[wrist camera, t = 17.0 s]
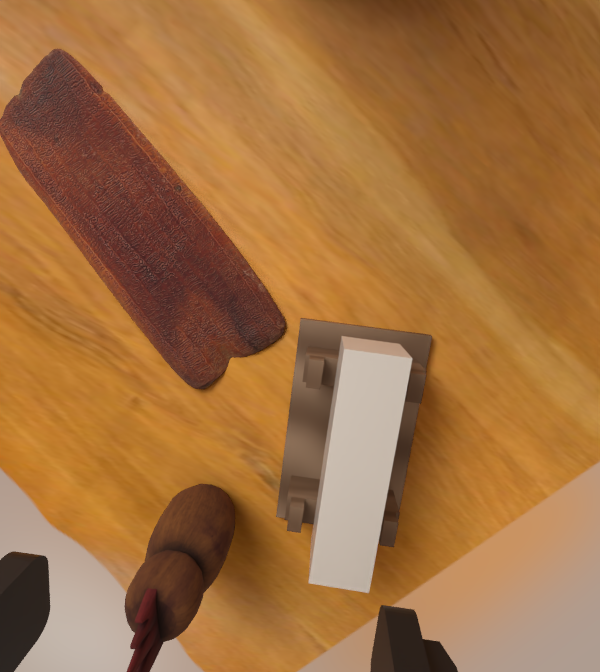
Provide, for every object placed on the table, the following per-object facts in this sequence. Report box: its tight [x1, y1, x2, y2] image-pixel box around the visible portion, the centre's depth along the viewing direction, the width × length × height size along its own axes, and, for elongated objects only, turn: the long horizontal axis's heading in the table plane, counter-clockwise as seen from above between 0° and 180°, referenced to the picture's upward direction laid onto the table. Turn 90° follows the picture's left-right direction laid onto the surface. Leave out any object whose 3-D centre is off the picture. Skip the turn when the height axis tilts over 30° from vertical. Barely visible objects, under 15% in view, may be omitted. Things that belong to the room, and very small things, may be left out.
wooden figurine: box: [125, 484, 235, 672], centre depth 27 cm, size 7×6×15 cm
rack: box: [276, 318, 432, 547], centre depth 30 cm, size 17×10×5 cm, turn 173°
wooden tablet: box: [0, 49, 285, 389], centre depth 30 cm, size 27×10×2 cm, turn 37°
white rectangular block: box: [309, 336, 413, 593], centre depth 27 cm, size 16×4×4 cm, turn 173°
